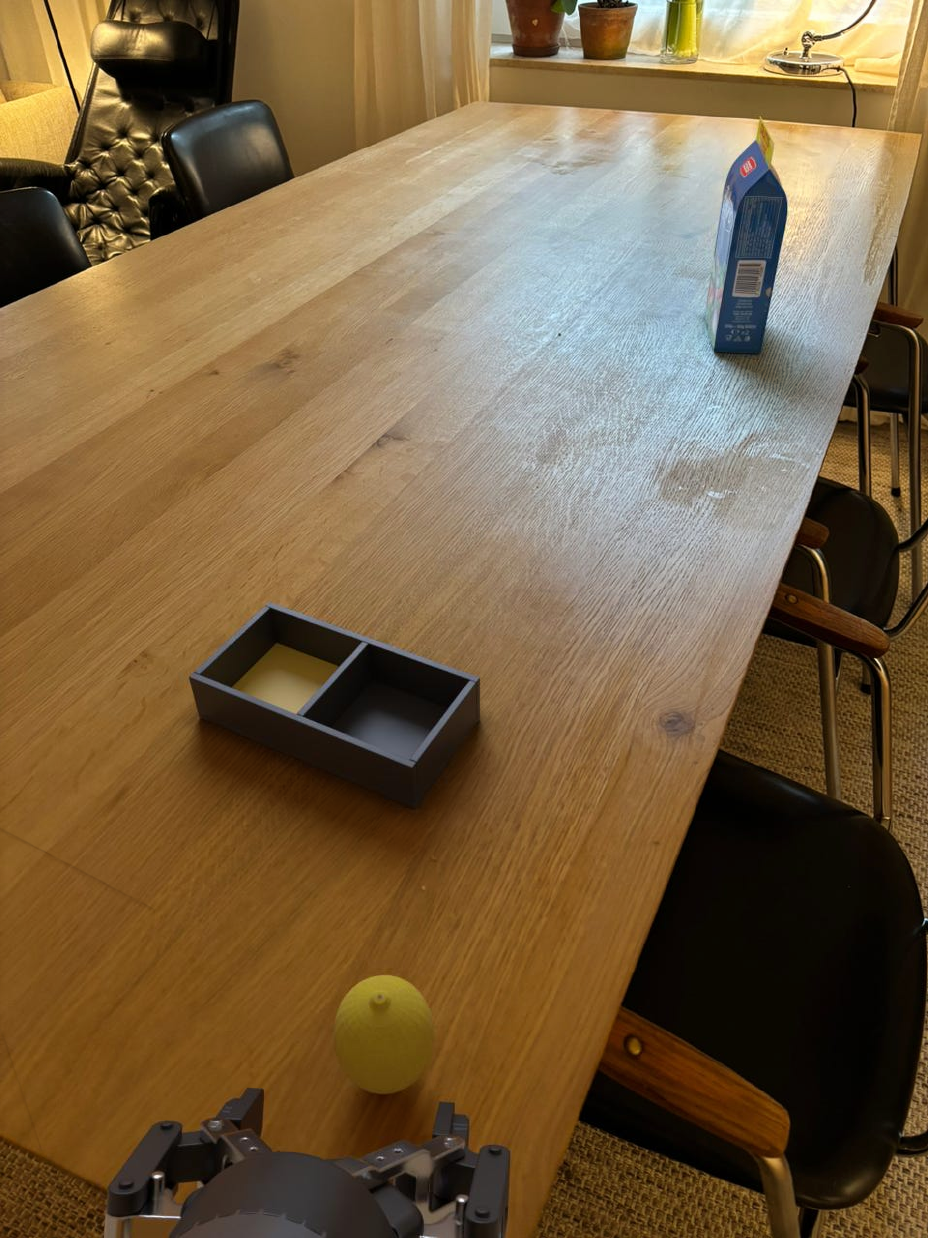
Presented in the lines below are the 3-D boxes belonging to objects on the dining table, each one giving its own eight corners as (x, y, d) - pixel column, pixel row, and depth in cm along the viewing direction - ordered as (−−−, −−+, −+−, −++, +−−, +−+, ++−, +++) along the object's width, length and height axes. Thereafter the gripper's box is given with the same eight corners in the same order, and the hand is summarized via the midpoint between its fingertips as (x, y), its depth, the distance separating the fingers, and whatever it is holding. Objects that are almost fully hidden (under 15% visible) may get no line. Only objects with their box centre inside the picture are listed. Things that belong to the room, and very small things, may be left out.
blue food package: (749, 315, 136) (786, 116, 119) (761, 354, 126) (803, 144, 110) (703, 314, 136) (733, 115, 120) (711, 352, 127) (745, 143, 111)
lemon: (455, 1080, 56) (452, 1009, 51) (371, 1138, 54) (359, 1070, 49) (404, 1005, 60) (397, 931, 55) (323, 1056, 58) (307, 984, 52)
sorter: (415, 810, 71) (412, 768, 68) (199, 718, 79) (188, 676, 76) (480, 718, 78) (480, 677, 75) (276, 642, 85) (268, 601, 82)
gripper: (508, 1239, 28) (514, 1040, 44) (12, 1200, 28) (197, 1019, 45) (497, 1528, 27) (507, 1218, 43) (-9, 1478, 28) (186, 1193, 44)
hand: (349, 1117), depth 44 cm, fingers open, 8 cm apart
